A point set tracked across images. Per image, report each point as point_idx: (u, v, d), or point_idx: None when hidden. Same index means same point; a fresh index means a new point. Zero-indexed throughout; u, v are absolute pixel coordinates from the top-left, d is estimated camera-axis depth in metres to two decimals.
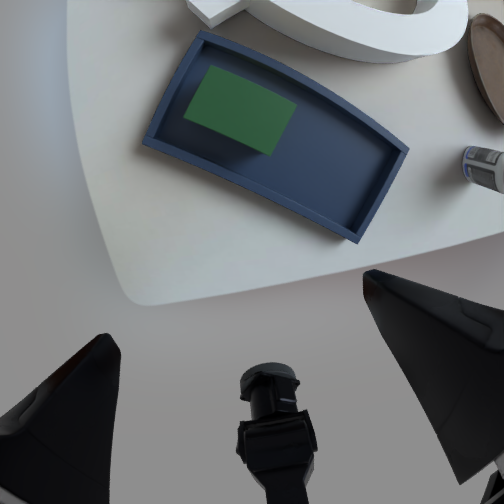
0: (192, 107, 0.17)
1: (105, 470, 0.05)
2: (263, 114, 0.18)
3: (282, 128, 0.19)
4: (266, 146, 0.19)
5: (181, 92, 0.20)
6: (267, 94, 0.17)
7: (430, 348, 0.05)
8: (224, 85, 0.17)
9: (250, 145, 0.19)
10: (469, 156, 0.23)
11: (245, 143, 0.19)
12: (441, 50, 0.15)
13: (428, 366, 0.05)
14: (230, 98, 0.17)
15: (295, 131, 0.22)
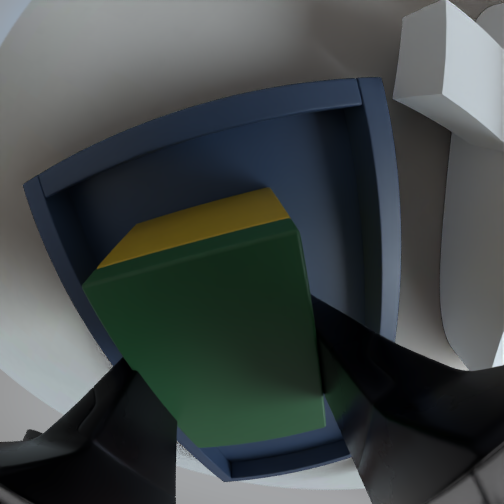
0: (122, 290, 0.05)
1: (171, 475, 0.05)
2: (258, 414, 0.07)
3: (261, 439, 0.08)
4: (207, 441, 0.07)
5: (188, 146, 0.08)
6: (310, 396, 0.07)
7: (336, 385, 0.05)
8: (258, 322, 0.05)
9: (181, 427, 0.07)
10: None
11: None
12: None
13: (339, 402, 0.05)
14: (235, 355, 0.06)
15: None
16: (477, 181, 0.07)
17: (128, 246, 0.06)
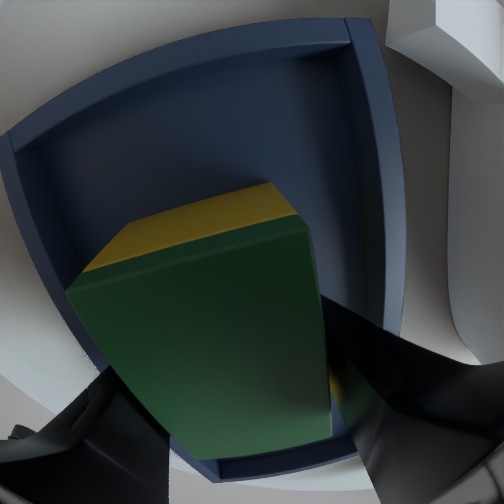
0: (109, 297, 0.04)
1: (165, 476, 0.05)
2: (261, 427, 0.06)
3: (264, 451, 0.07)
4: (206, 453, 0.07)
5: (163, 94, 0.06)
6: (317, 407, 0.06)
7: (346, 382, 0.05)
8: (262, 330, 0.05)
9: (179, 440, 0.06)
10: None
11: (172, 434, 0.06)
12: None
13: (347, 399, 0.05)
14: (236, 368, 0.05)
15: None
16: (483, 139, 0.06)
17: (117, 247, 0.06)
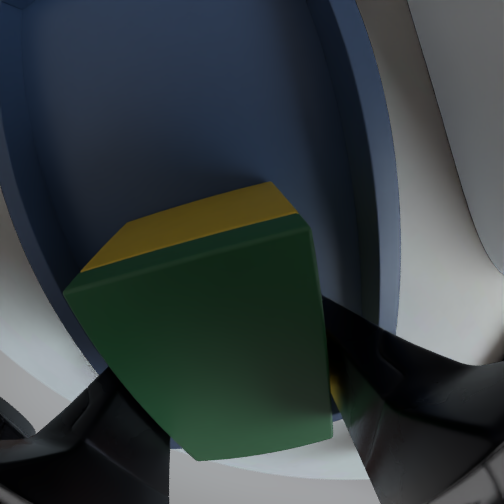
0: (106, 298, 0.04)
1: (165, 476, 0.05)
2: (261, 428, 0.06)
3: (264, 452, 0.07)
4: (206, 454, 0.07)
5: None
6: (318, 408, 0.06)
7: (345, 383, 0.05)
8: (262, 332, 0.05)
9: (178, 441, 0.06)
10: None
11: (171, 435, 0.06)
12: None
13: (347, 400, 0.05)
14: (236, 369, 0.05)
15: None
16: None
17: (115, 247, 0.06)
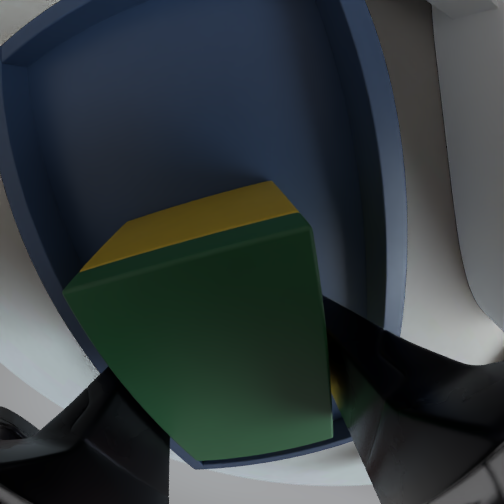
0: (106, 297, 0.04)
1: (164, 475, 0.05)
2: (262, 428, 0.06)
3: (264, 452, 0.07)
4: (206, 454, 0.07)
5: (144, 6, 0.05)
6: (318, 408, 0.06)
7: (345, 383, 0.05)
8: (263, 332, 0.05)
9: (178, 441, 0.06)
10: None
11: (171, 435, 0.06)
12: None
13: (347, 400, 0.05)
14: (236, 369, 0.05)
15: None
16: (468, 46, 0.05)
17: (115, 246, 0.06)
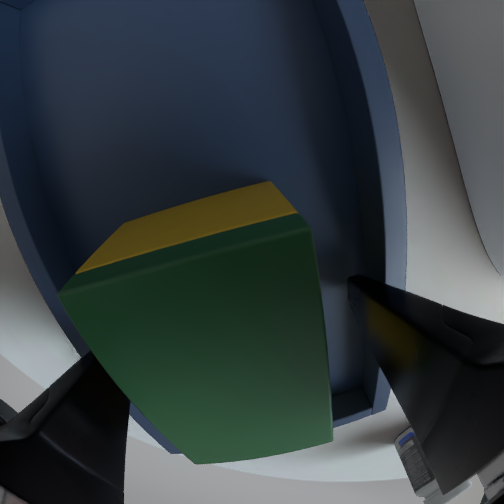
0: (101, 300, 0.04)
1: (120, 472, 0.05)
2: (261, 432, 0.06)
3: (263, 456, 0.07)
4: (204, 458, 0.07)
5: None
6: (318, 412, 0.06)
7: (411, 357, 0.05)
8: (260, 335, 0.05)
9: (176, 445, 0.06)
10: None
11: (169, 439, 0.06)
12: None
13: (409, 375, 0.05)
14: (234, 373, 0.05)
15: None
16: None
17: (111, 248, 0.05)
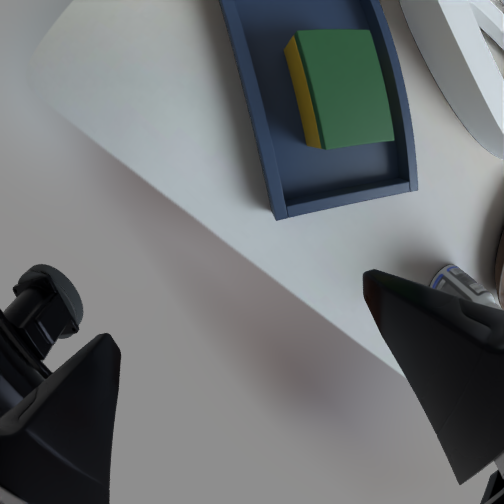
0: (314, 34, 0.11)
1: (105, 470, 0.06)
2: (362, 111, 0.13)
3: (363, 141, 0.13)
4: (333, 137, 0.13)
5: None
6: (383, 102, 0.13)
7: (430, 348, 0.05)
8: (360, 54, 0.11)
9: (321, 120, 0.13)
10: (452, 271, 0.21)
11: (319, 113, 0.13)
12: None
13: (428, 366, 0.05)
14: (353, 67, 0.12)
15: None
16: None
17: None
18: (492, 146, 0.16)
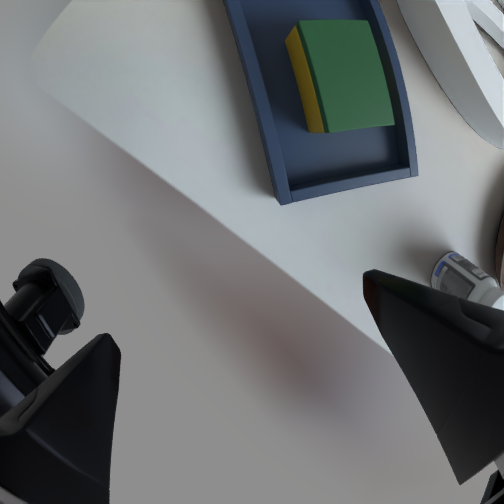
0: (316, 23, 0.11)
1: (105, 470, 0.05)
2: (363, 96, 0.13)
3: (364, 125, 0.14)
4: (336, 121, 0.13)
5: None
6: (383, 88, 0.13)
7: (430, 348, 0.05)
8: (360, 43, 0.11)
9: (324, 104, 0.13)
10: (453, 258, 0.22)
11: (322, 97, 0.13)
12: None
13: (428, 366, 0.05)
14: (353, 55, 0.12)
15: None
16: None
17: None
18: (488, 134, 0.16)
